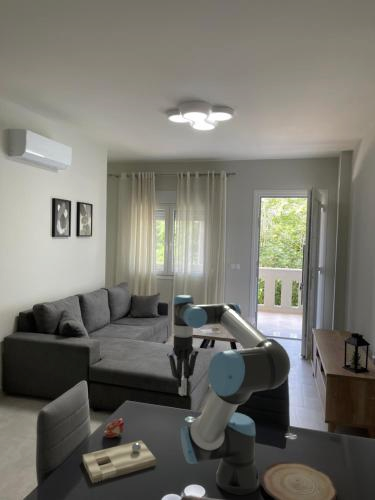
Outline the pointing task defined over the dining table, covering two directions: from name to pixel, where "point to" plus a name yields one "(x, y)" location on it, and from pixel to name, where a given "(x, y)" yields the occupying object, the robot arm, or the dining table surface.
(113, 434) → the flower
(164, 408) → the dining table surface
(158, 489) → the dining table surface
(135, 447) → the ball
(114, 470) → the wooden board with hole
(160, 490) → the dining table surface
